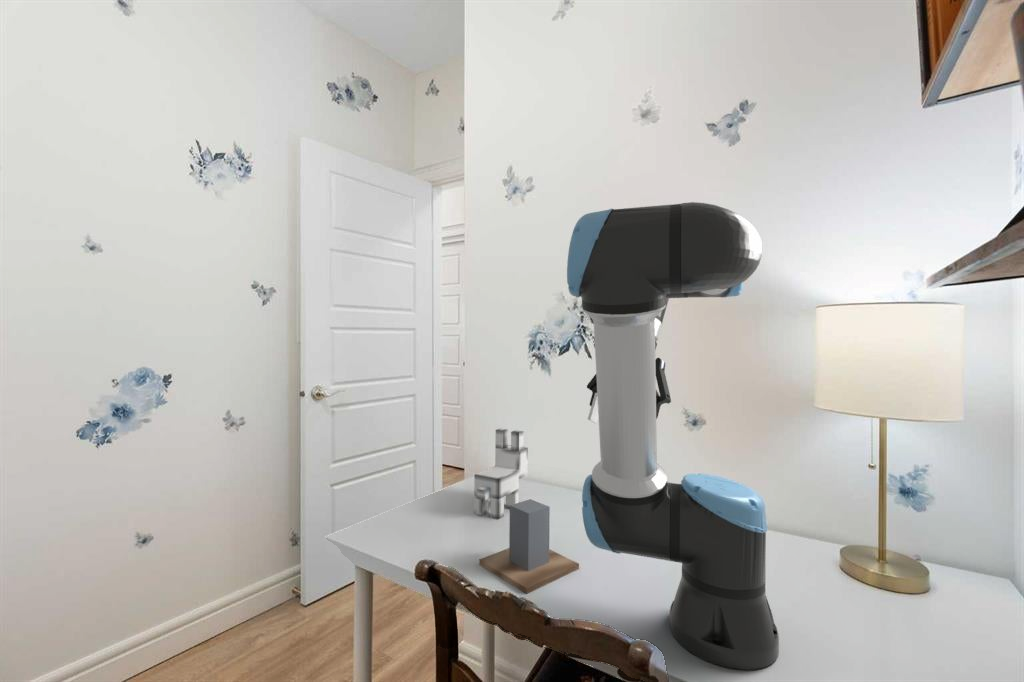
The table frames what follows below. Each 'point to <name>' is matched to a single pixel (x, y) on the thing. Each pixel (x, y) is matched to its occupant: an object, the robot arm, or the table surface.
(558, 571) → the post
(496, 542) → the table surface
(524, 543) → the gray upright pillar
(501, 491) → the toy llama
